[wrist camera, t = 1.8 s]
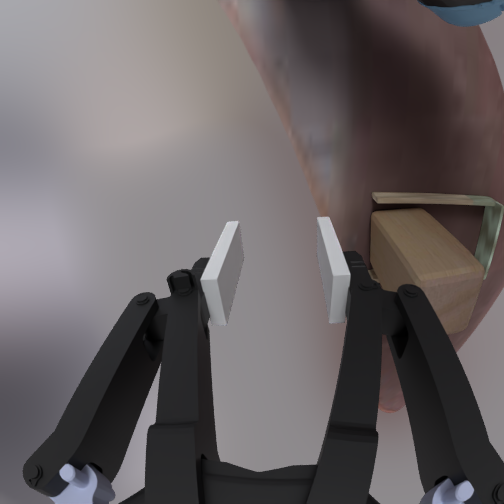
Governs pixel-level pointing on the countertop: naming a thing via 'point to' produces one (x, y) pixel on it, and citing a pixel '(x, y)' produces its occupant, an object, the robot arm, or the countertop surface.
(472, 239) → the countertop surface
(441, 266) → the wooden block
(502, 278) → the countertop surface
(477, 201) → the trap lane
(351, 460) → the robot arm
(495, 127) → the countertop surface
